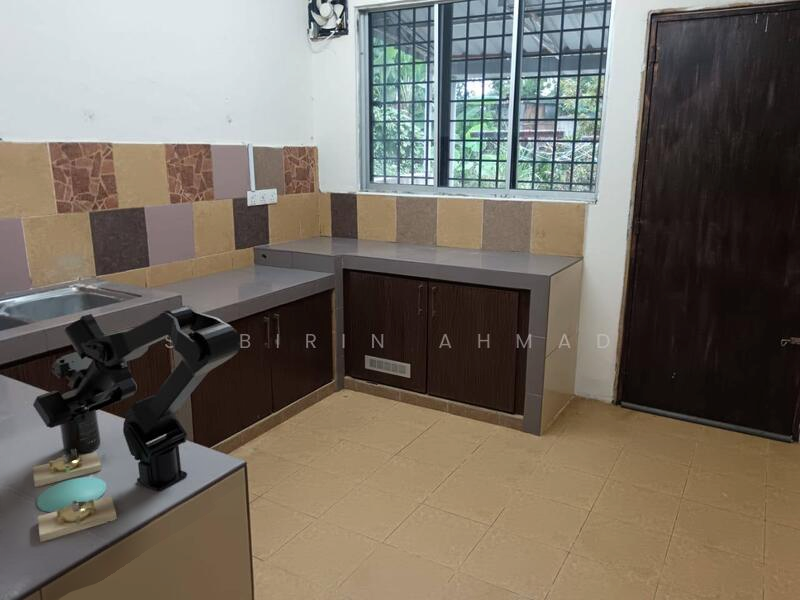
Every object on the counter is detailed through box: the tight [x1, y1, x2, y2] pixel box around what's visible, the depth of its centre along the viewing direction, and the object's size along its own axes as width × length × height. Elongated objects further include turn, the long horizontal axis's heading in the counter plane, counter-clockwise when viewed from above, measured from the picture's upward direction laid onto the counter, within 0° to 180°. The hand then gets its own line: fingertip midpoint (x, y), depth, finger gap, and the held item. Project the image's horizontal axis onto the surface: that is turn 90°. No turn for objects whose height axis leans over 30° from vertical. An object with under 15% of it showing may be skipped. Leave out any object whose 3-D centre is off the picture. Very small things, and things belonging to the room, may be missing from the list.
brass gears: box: [49, 448, 96, 525], centre depth 108 cm, size 25×6×3 cm, turn 32°
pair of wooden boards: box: [32, 451, 118, 543], centre depth 109 cm, size 25×11×1 cm, turn 32°
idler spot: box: [36, 476, 107, 513], centre depth 109 cm, size 11×11×1 cm
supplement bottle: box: [59, 389, 101, 455], centre depth 124 cm, size 7×7×12 cm
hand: (74, 416), depth 125 cm, fingers open, 7 cm apart
